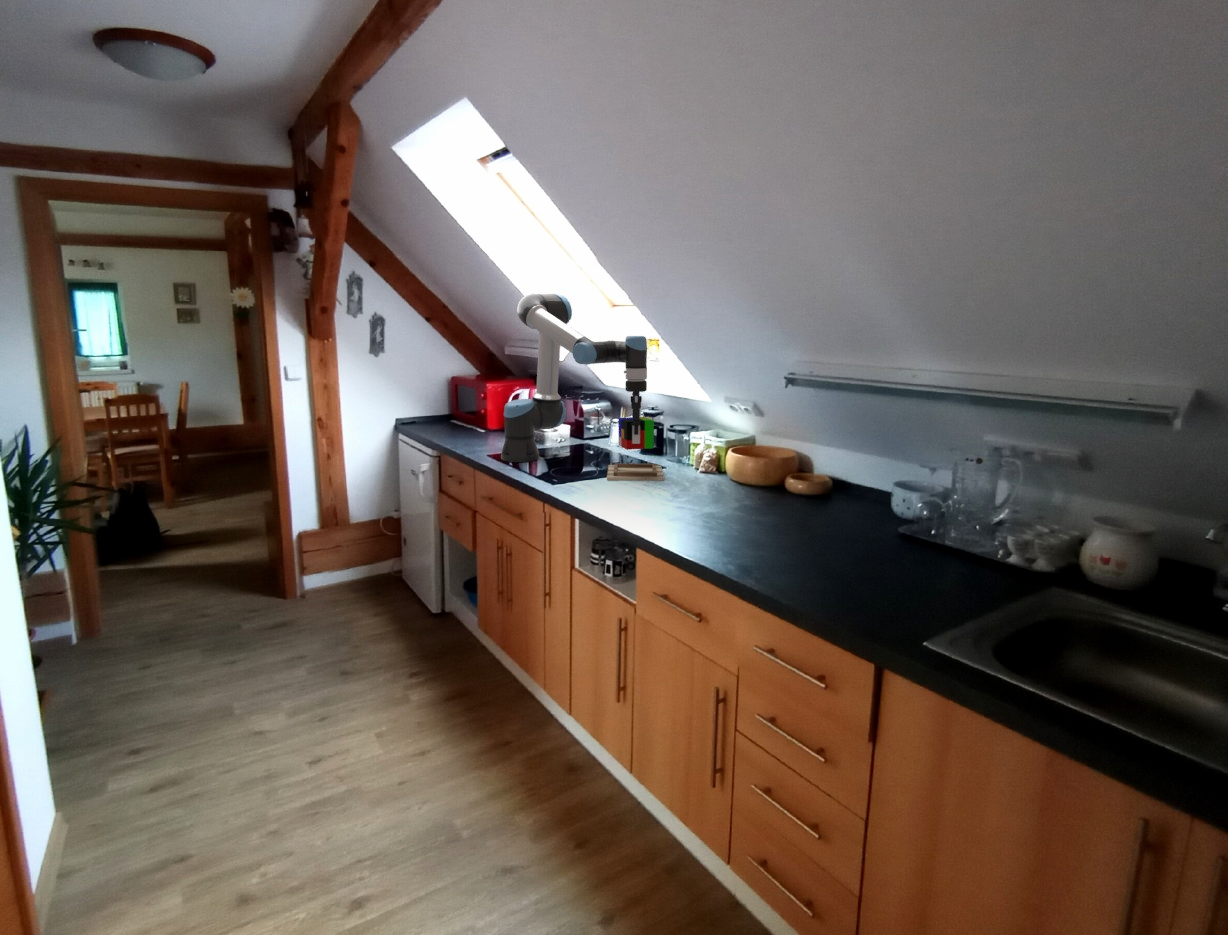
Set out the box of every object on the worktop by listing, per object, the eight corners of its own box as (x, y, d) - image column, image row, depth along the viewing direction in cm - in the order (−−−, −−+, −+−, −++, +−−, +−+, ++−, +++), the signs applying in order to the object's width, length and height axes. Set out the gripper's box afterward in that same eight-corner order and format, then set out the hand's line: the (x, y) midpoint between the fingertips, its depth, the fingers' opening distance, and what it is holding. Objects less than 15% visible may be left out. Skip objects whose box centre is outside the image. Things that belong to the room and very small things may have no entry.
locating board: (608, 467, 265) (608, 462, 265) (661, 468, 265) (661, 462, 264) (606, 480, 246) (606, 474, 245) (663, 480, 245) (663, 474, 245)
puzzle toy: (618, 444, 256) (618, 417, 254) (644, 443, 259) (644, 416, 257) (626, 449, 247) (626, 421, 245) (653, 448, 249) (653, 420, 247)
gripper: (625, 377, 259) (625, 435, 264) (625, 383, 236) (625, 446, 241) (645, 377, 259) (645, 435, 264) (647, 383, 236) (647, 446, 241)
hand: (635, 440), depth 252 cm, fingers closed on puzzle toy, 11 cm apart
